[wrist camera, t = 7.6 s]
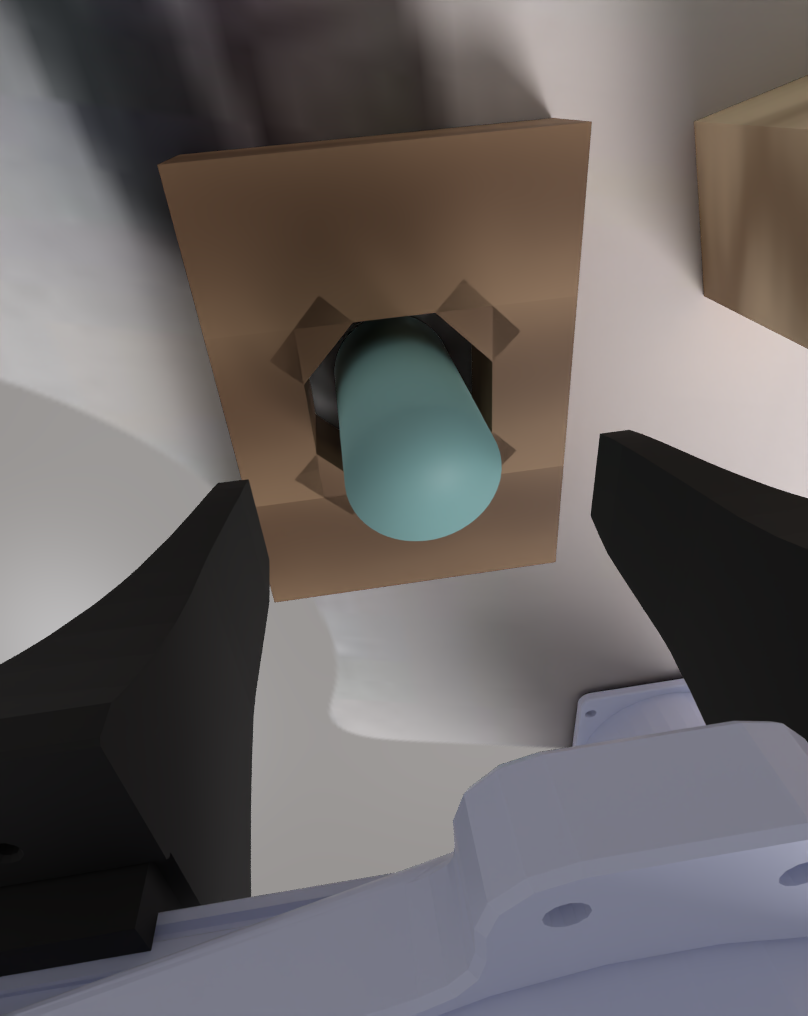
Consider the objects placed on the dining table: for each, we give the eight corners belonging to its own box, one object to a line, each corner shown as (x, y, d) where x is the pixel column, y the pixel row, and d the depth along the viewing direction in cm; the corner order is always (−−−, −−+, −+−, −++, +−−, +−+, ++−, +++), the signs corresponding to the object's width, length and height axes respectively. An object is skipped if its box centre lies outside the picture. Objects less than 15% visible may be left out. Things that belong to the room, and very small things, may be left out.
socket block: (532, 517, 22) (555, 561, 20) (277, 553, 21) (274, 602, 19) (552, 118, 15) (591, 121, 13) (178, 154, 14) (157, 164, 12)
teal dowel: (455, 411, 19) (506, 523, 14) (348, 434, 19) (362, 554, 14) (441, 303, 17) (495, 389, 12) (321, 328, 17) (327, 424, 12)
